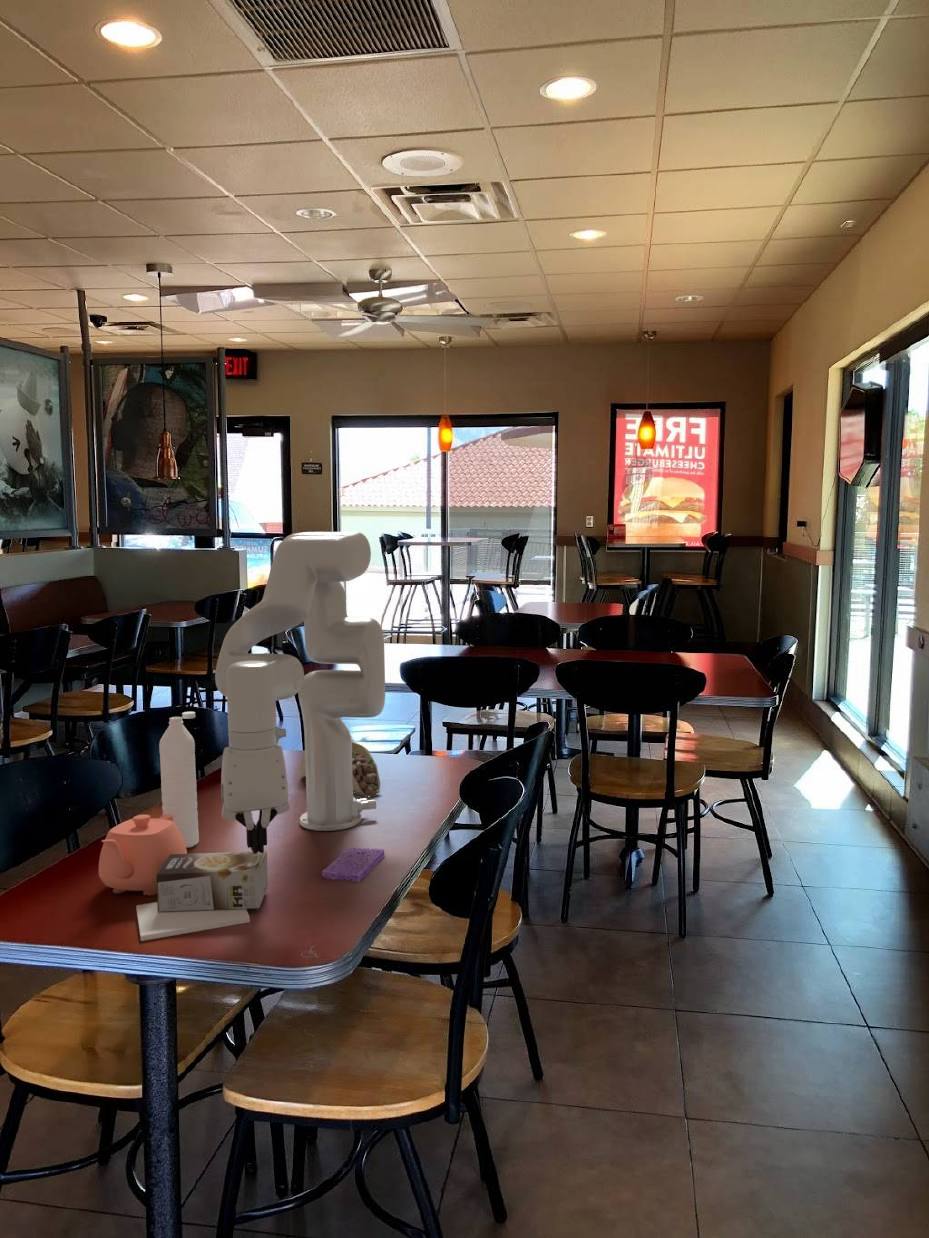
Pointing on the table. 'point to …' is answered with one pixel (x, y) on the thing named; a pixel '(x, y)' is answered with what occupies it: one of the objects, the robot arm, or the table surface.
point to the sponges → (354, 864)
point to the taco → (360, 771)
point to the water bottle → (180, 778)
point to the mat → (184, 920)
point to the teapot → (138, 853)
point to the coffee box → (212, 881)
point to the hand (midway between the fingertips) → (257, 850)
